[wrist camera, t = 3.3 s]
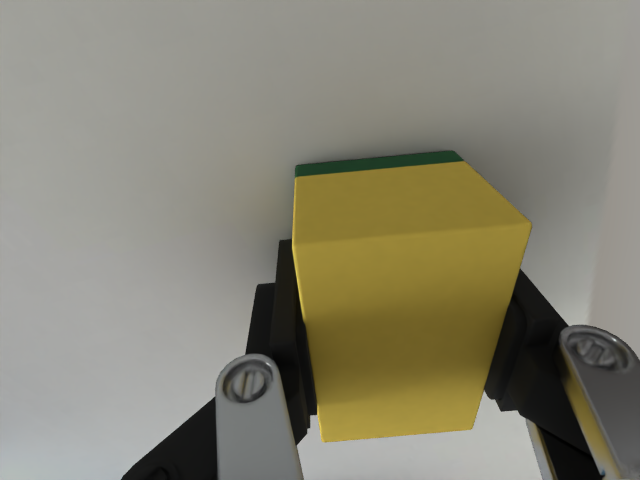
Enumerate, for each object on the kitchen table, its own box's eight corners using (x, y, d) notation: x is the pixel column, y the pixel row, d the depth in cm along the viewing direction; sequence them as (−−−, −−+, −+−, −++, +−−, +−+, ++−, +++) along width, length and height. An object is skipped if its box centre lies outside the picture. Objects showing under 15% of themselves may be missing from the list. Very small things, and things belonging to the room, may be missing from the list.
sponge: (294, 164, 10) (291, 246, 6) (454, 149, 10) (535, 223, 6) (316, 336, 14) (321, 444, 10) (430, 326, 13) (473, 430, 10)
